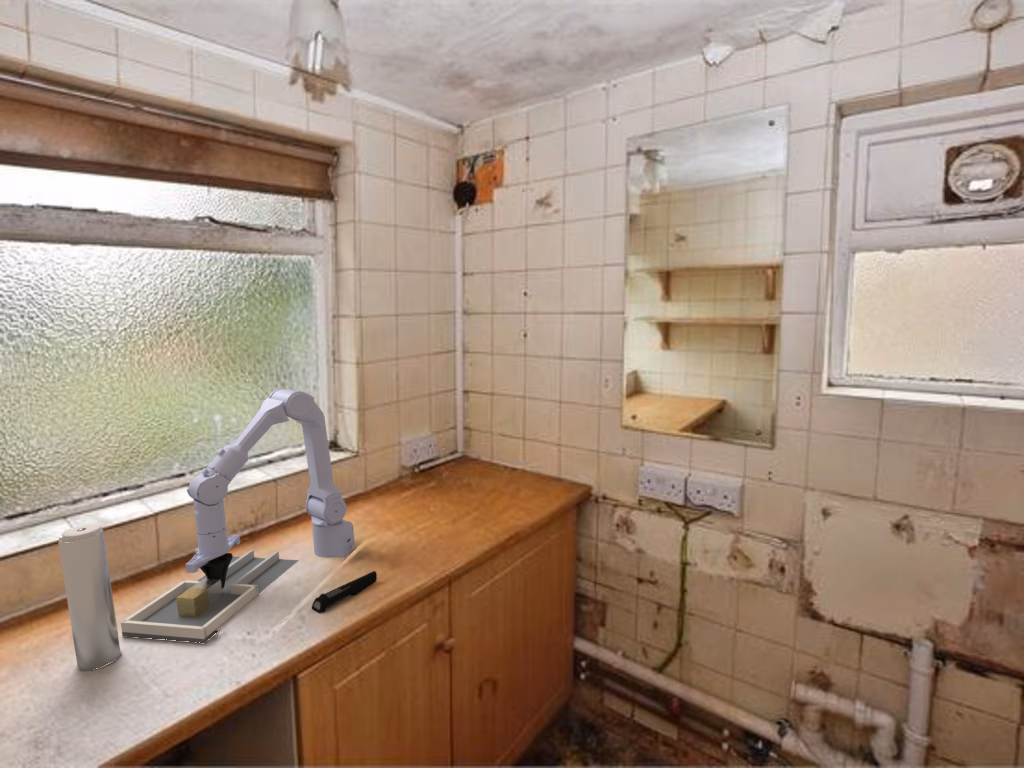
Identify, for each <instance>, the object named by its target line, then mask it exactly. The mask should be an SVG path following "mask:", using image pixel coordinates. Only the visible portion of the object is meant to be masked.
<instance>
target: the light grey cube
mask: <svg viewBox="0 0 1024 768" xmlns="http://www.w3.org/2000/svg"><path fill="white" fill-rule="evenodd" d="M191 588H203V589H208V597H209V606H211V605H213V604H214V603H215V602H217V601H218V600H219V599H221V598H222V597H223V595H222V587H221V580H220V579H205V578H204V579H203V580H201V581H200V582H198V583H197V584H195V585H194V586H193V587H191Z"/></svg>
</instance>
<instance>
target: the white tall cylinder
mask: <svg viewBox="0 0 1024 768" xmlns="http://www.w3.org/2000/svg"><path fill="white" fill-rule="evenodd" d="M58 539H59V540H58V541H57V542H58V543H57V544H58V548H59V549H58V550H59V556H60V562H61V569H62V575H63V580H64V582H63V583H64V588H65V594H66V600H67V606H68V608H67V609H68V614H69V620H70V626H71V632H72V638H73V639H72V640H73V646H74V652H75V653H74V654H75V657H76V664H77V669H78V668H79V669H80V671H82V670H91V671H94V670H93V669H96V668H100V667H102V666H104V665H106V664H108V663H110V662H112V661H114V660H115V659H117V658H118V657H119V658H120V656H121V655H120V654H121V653H122V651H121V650H122V649H121V645H120V639H119V632H118V625H117V624H118V623H117V617H116V611H115V604H114V598H113V597H114V596H113V589H112V584H111V583H112V582H111V575H110V568H109V563H108V554H107V547H106V542H105V534H104V529H103V528H102V525H101V524H100V523H86V524H79V525H77V526H73V527H70V528H68V529H65V530H64V531H63V532H62V533H61V536H60V537H59V538H58ZM119 655H120V656H119ZM119 658H118V659H119ZM118 659H117V660H118ZM115 661H116V660H115ZM115 661H114V662H115ZM102 668H103V667H102ZM79 669H78V670H79ZM100 669H101V668H100ZM96 670H97V669H96Z"/></svg>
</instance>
